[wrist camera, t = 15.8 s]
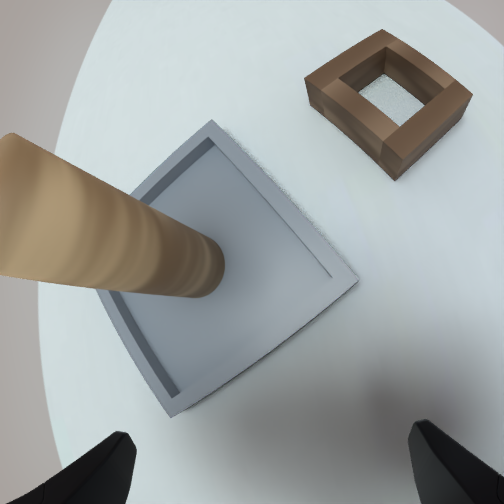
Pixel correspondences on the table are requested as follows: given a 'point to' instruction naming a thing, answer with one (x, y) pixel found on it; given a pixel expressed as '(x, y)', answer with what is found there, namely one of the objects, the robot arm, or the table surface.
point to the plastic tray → (225, 273)
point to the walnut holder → (375, 121)
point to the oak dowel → (93, 231)
